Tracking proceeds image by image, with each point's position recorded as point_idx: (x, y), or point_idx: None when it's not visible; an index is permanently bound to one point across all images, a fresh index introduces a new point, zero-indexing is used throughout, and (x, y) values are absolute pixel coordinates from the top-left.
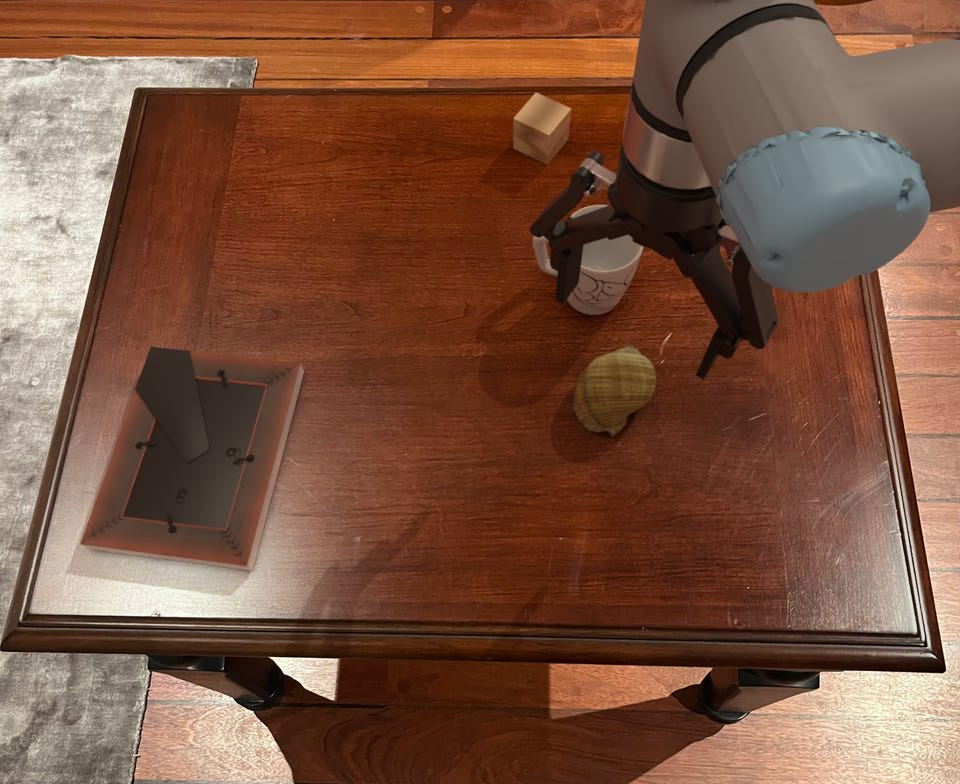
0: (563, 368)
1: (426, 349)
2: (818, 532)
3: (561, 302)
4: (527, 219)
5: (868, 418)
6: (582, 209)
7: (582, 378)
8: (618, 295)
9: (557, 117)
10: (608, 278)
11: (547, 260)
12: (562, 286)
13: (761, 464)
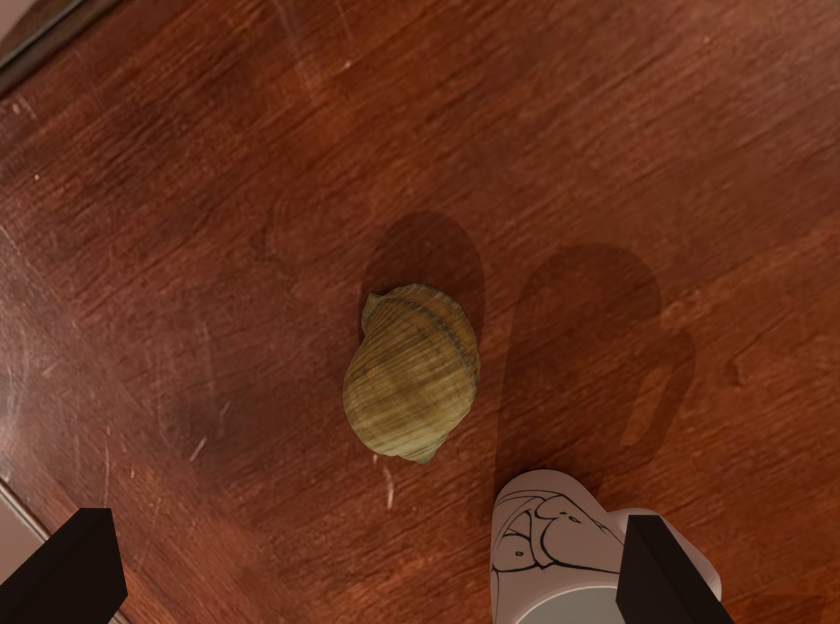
0: (515, 364)
1: (770, 264)
2: (11, 326)
3: (638, 521)
4: None
5: None
6: None
7: (471, 359)
8: (496, 536)
9: None
10: (531, 580)
11: None
12: (695, 607)
13: (146, 382)
